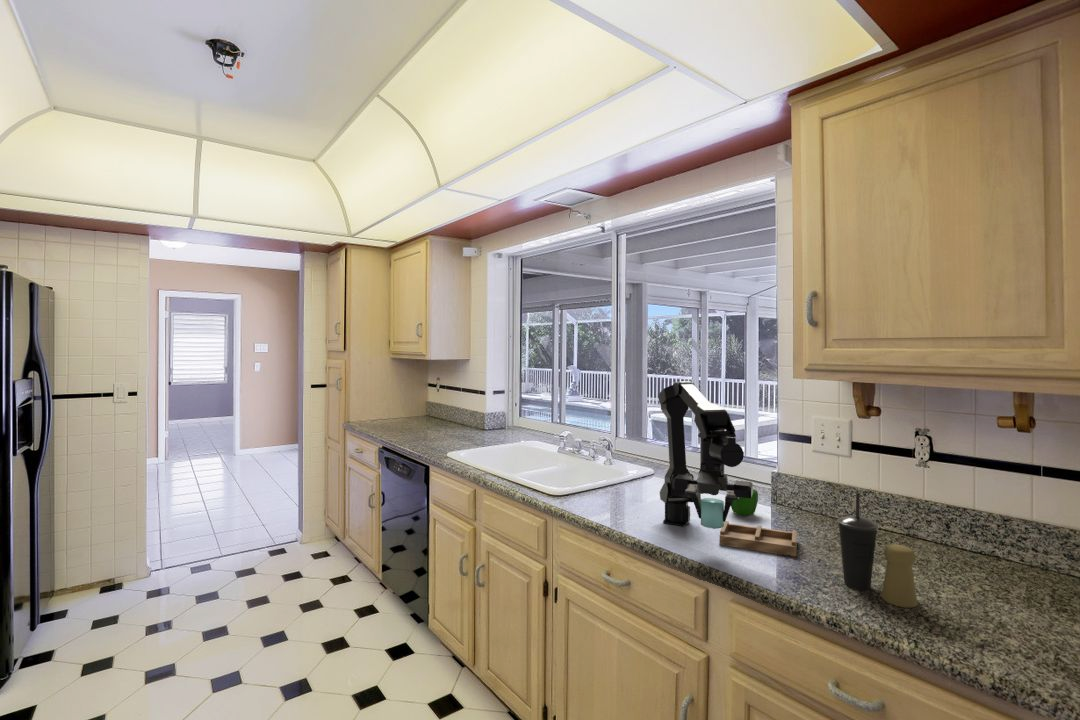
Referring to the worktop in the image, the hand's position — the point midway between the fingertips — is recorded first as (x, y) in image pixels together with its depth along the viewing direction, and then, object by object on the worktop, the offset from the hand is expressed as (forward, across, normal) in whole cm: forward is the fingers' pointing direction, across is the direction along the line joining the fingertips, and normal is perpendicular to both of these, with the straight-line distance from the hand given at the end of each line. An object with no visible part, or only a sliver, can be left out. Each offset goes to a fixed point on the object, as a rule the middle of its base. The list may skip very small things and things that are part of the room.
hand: (712, 519), depth 130 cm
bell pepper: (+8, +4, +35) cm, 36 cm away
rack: (+8, +10, +12) cm, 17 cm away
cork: (+8, +38, -9) cm, 40 cm away
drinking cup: (+8, +31, -5) cm, 32 cm away
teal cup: (+1, 0, 0) cm, 1 cm away
